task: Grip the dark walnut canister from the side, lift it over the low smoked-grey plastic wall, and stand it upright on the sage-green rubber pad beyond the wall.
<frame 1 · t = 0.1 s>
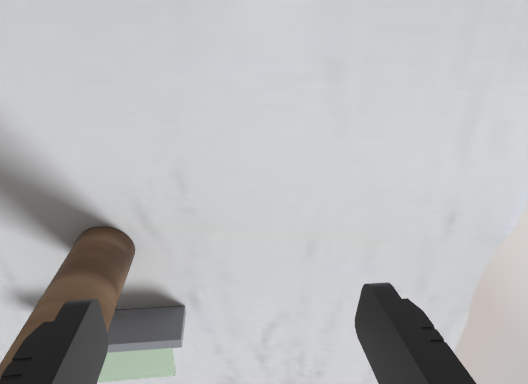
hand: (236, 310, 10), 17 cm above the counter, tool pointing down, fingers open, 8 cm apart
walnut canister: (106, 248, 29), on the counter
pad: (133, 353, 37), on the counter
low wall: (123, 313, 33), on the counter
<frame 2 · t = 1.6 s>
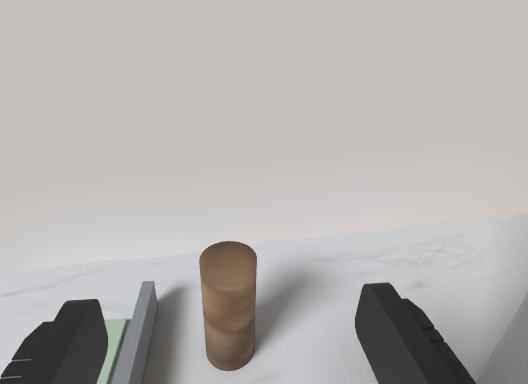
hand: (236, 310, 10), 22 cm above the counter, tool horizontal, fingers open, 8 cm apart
walnut canister: (230, 347, 33), on the counter
pad: (67, 363, 31), on the counter
low wall: (141, 356, 32), on the counter
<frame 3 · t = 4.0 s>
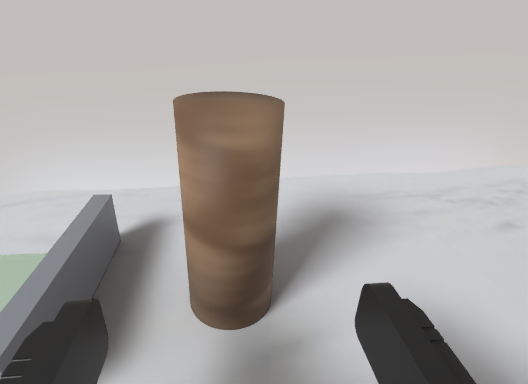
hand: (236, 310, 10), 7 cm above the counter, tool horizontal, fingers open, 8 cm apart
walnut canister: (231, 296, 20), on the counter
low wall: (78, 305, 18), on the counter
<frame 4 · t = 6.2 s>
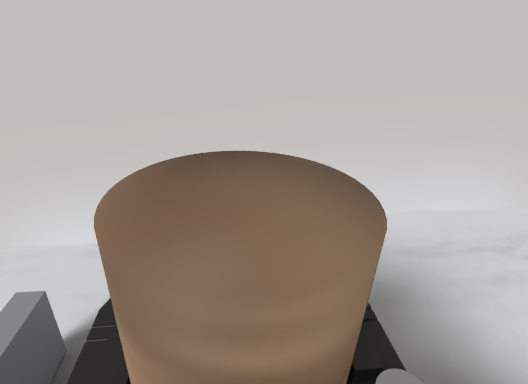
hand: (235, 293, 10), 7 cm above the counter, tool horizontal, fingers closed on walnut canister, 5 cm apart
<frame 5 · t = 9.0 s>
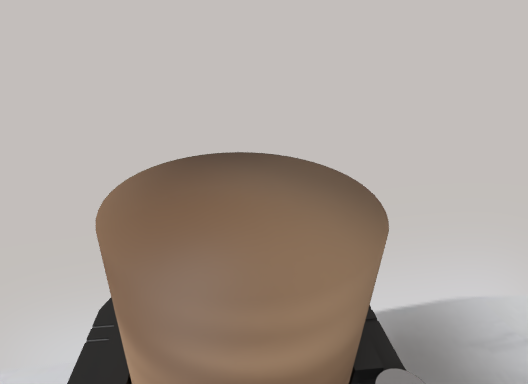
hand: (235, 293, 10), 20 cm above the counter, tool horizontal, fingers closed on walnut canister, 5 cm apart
when the fingers open (9 cm above the counter, at t = 11.9 s): walnut canister drops 1 cm, resting on pad.
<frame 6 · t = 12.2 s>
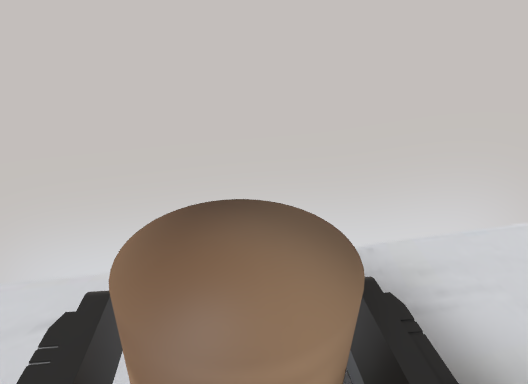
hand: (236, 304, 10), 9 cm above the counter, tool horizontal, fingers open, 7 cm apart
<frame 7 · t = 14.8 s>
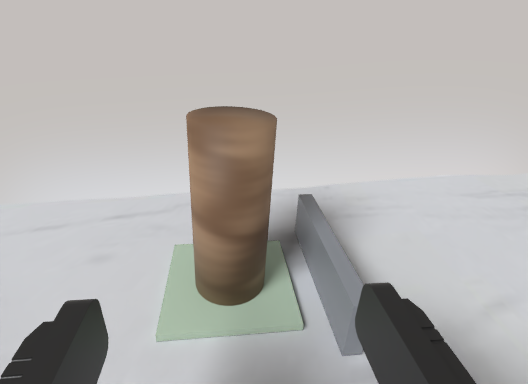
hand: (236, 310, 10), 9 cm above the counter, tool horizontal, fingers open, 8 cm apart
walnut canister: (230, 279, 23), point 1 cm above the counter, touching pad
pad: (229, 283, 23), on the counter
low wall: (320, 278, 24), on the counter
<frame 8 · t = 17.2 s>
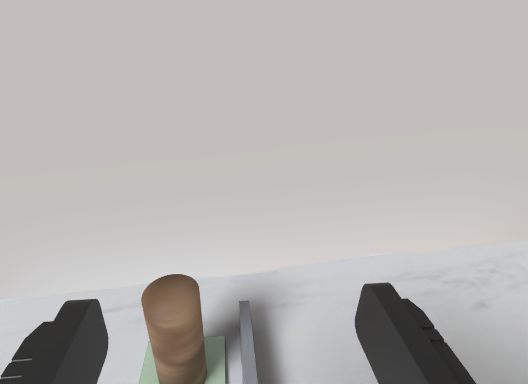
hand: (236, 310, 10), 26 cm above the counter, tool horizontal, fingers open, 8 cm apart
walnut canister: (183, 375, 34), point 1 cm above the counter, touching pad
pad: (183, 377, 34), on the counter
low wall: (247, 371, 35), on the counter
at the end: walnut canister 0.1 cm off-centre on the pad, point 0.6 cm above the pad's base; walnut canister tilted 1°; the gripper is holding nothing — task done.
